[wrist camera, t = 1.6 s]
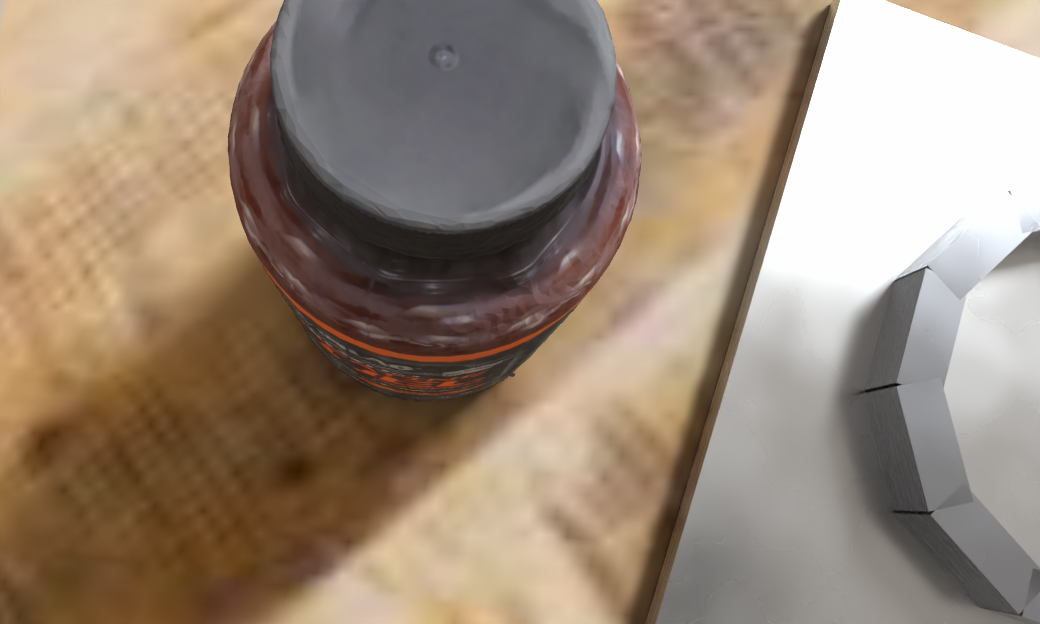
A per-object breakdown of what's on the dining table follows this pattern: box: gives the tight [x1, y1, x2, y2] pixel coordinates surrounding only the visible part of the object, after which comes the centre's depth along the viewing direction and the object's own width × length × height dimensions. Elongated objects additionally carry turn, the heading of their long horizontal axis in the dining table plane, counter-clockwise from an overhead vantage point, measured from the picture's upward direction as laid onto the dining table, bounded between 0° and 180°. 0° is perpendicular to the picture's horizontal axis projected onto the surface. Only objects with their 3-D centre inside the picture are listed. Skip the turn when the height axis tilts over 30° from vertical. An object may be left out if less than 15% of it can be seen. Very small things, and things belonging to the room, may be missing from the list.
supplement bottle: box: [228, 0, 641, 401], centre depth 16 cm, size 6×6×11 cm
